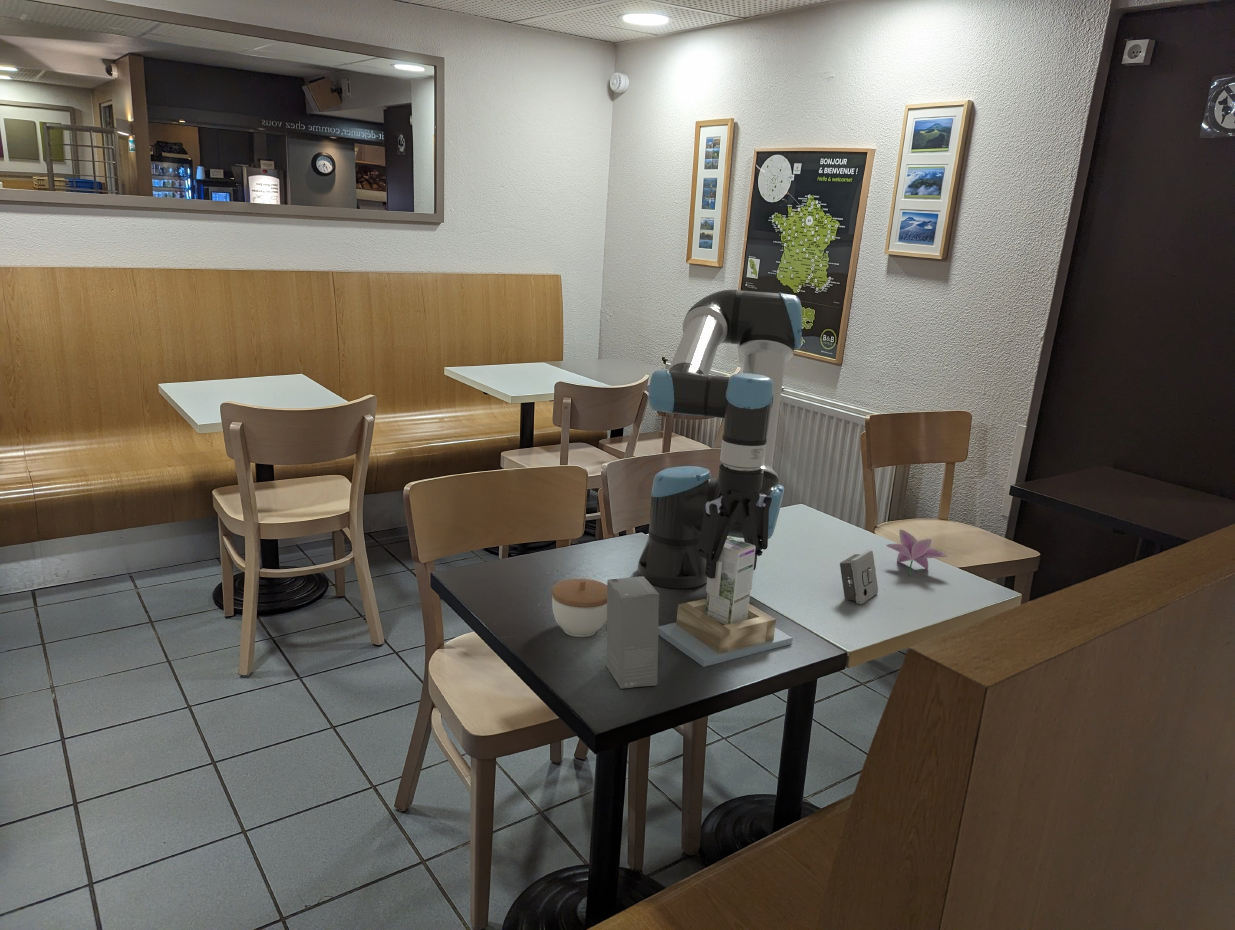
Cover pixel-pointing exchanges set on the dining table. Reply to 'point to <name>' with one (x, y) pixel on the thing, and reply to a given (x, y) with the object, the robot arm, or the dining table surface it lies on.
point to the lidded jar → (580, 606)
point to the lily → (915, 550)
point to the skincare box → (632, 631)
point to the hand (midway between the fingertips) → (728, 590)
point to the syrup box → (733, 583)
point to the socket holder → (721, 634)
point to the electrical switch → (859, 577)
